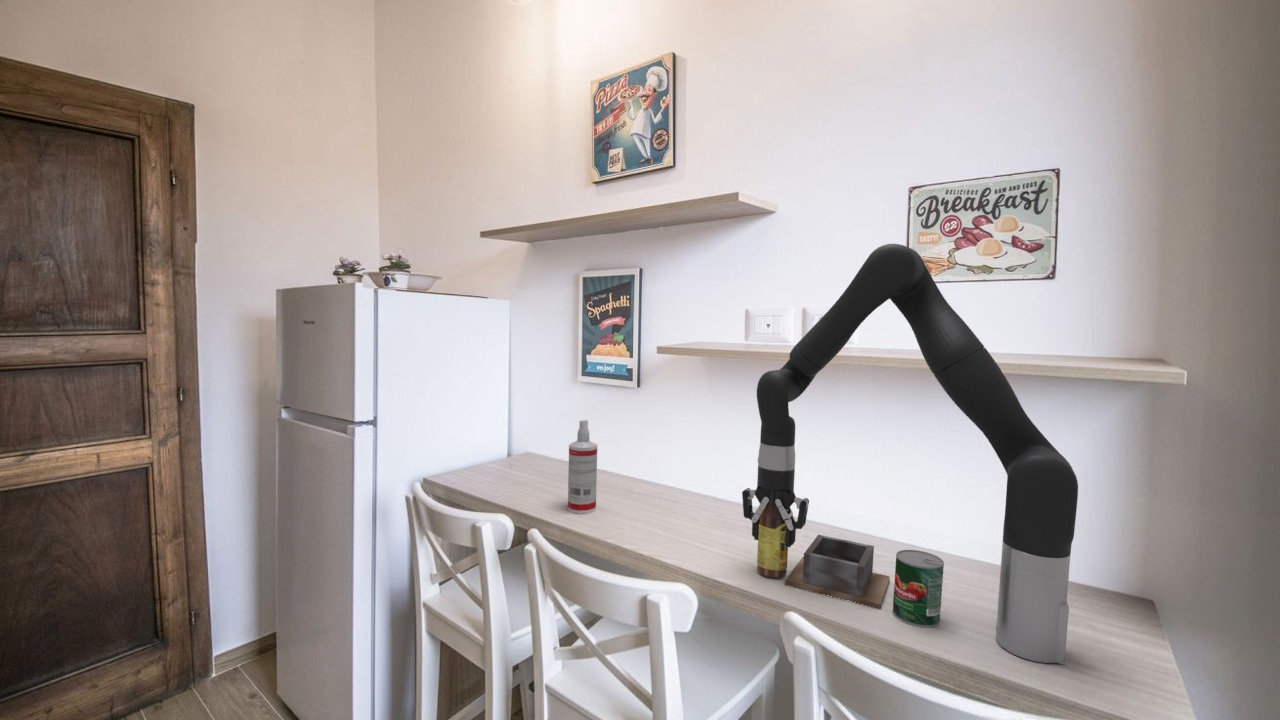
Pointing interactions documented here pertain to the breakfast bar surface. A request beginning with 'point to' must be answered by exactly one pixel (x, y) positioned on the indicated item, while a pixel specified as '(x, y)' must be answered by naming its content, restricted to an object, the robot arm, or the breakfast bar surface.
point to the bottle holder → (840, 571)
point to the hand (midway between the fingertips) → (772, 542)
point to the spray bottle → (582, 473)
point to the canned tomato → (918, 588)
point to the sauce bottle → (772, 540)
